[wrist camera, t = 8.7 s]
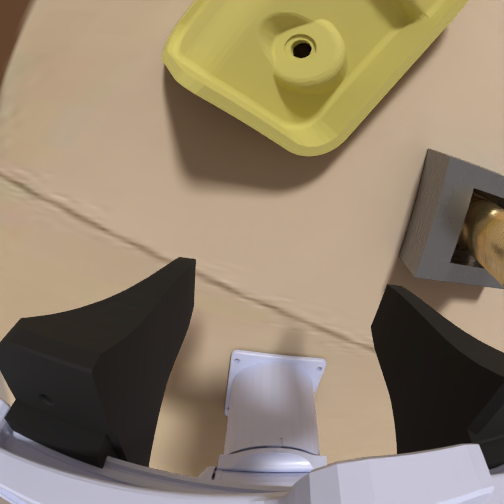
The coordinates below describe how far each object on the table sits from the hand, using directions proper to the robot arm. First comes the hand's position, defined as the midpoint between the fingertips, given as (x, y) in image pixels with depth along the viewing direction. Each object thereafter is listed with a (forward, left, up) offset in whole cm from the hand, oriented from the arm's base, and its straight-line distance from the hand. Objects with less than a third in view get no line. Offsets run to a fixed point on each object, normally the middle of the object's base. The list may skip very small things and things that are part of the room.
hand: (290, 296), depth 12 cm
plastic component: (+14, -1, -10) cm, 18 cm away
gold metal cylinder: (+2, -14, -10) cm, 17 cm away
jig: (+2, -14, -10) cm, 17 cm away
